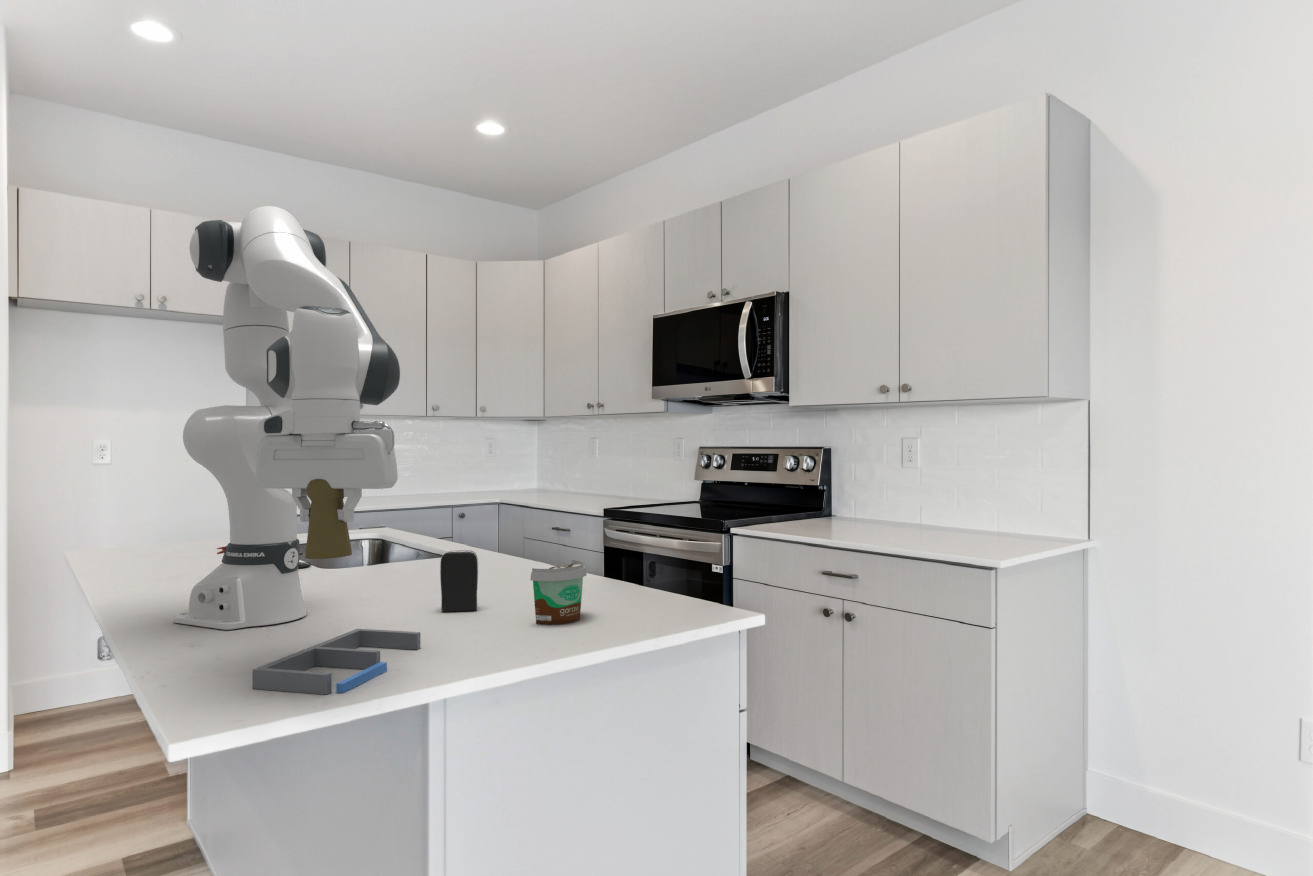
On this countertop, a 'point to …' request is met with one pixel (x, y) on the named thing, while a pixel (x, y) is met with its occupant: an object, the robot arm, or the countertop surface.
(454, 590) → the battery charger
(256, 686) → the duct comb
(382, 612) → the countertop surface
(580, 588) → the food container
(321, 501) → the cork
